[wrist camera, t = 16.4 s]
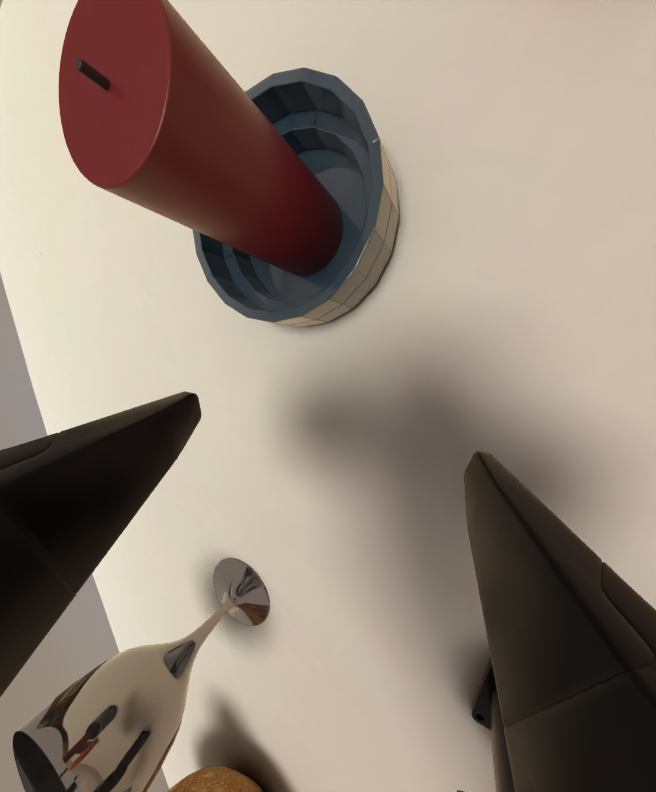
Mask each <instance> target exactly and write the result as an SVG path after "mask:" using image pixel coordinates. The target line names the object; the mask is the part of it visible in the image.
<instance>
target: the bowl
mask: <svg viewBox="0 0 656 792" xmlns="http://www.w3.org/2000/svg"><path fill="white" fill-rule="evenodd" d="M245 93H246V94H247V95H248V97H249V98H250V99H251V100H252V101H253V103H254V104H255V105H256V106H257V107H258V109H259V110H260V111H261V112H262V113H263V115H264V116H265V117H266V118H267V119H268V120H269V122H270V123H271V124H272V125H273V126H274V128H275V129H276V130H277V131H278V132H279V134H280V135H281V136H282V137H283V138H284V140H285V141H286V142H287V143H288V144H289V145H290V147H291V148H292V149H293V150H294V151H295V153H296V154H297V155H298V156H299V157H300V159H301V160H302V161H303V162H304V163H305V165H306V166H307V167H308V168H309V169H310V170H311V172H312V173H313V174H314V175H315V176H316V178H317V179H318V180H319V181H320V182H321V184H322V185H323V186H324V187H325V188H326V190H327V191H328V192H329V193H330V194H331V195H332V197H333V198H334V199H335V200H336V202H337V204H338V206H339V208H340V211H341V215H342V221H343V230H342V237H341V241H340V244H339V247H338V249H337V251H336V253H335V255H334V257H333V258H332V259H331V261H330V262H329V263H328V264H327V265H326V266H325V267H324V268H323V269H321V270H320V271H318V272H316V273H314V274H311V275H306V276H298V275H294V274H291V273H289V272H287V271H284V270H282V269H280V268H278V267H275V266H273V265H271V264H269V263H267V262H264V261H262V260H260V259H258V258H255V257H253V256H251V255H249V254H247V253H244V252H242V251H240V250H238V249H235V248H233V247H231V246H229V245H227V244H224V243H222V242H220V241H218V240H215V239H213V238H211V237H209V236H207V235H204V234H202V233H200V232H198V231H195V230H193V234H194V241H195V247H196V254H197V257H198V259H199V262H200V264H201V266H202V269H203V271H204V274H205V276H206V279H207V281H208V282H209V284H210V285H211V286H212V288H213V289H214V290H215V291H216V293H217V294H218V295H219V296H220V298H221V299H222V300H223V302H224V303H225V304H227V305H228V306H230V307H231V308H233V309H234V310H236V311H238V312H239V313H241V314H242V315H244V316H245V317H247V318H252V319H257V320H262V321H268V322H273V323H280V324H287V325H294V326H300V327H305V326H311V325H316V324H322V323H327V322H329V321H331V320H333V319H335V318H336V317H338V316H340V315H342V314H343V313H345V312H347V311H349V310H350V309H352V308H354V307H355V306H356V305H357V303H358V302H359V301H360V300H361V299H362V298H363V297H364V296H365V295H366V294H367V293H368V292H369V291H370V290H371V288H372V287H373V286H374V285H375V284H376V282H377V280H378V278H379V276H380V274H381V272H382V270H383V268H384V266H385V265H386V263H387V261H388V259H389V257H390V255H391V252H392V247H393V243H394V238H395V233H396V228H397V224H398V219H399V218H398V217H399V210H398V198H397V185H396V180H395V177H394V174H393V172H392V169H391V167H390V164H389V161H388V159H387V156H386V154H385V151H384V148H383V146H382V143H381V141H380V138H379V136H378V133H377V131H376V129H375V127H374V124H373V122H372V120H371V117H370V115H369V113H368V110H367V108H366V106H365V104H364V102H363V100H362V99H361V98H360V97H358V96H357V95H356V94H355V93H354V92H353V91H352V90H351V89H350V88H349V87H348V86H347V85H346V84H345V83H343V82H342V81H341V80H340V79H339V78H338V77H336V76H333V75H330V74H326V73H323V72H319V71H315V70H312V69H308V68H299V69H294V70H289V71H284V72H279V73H274V74H272V75H270V76H269V77H267V78H266V79H264V80H263V81H261V82H259V83H258V84H256V85H255V86H253V87H252V88H250V89H249V90H247V91H246V92H245Z"/></svg>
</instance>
